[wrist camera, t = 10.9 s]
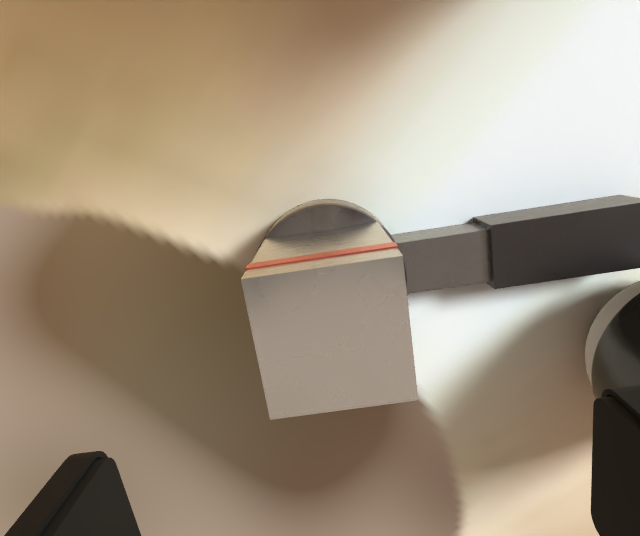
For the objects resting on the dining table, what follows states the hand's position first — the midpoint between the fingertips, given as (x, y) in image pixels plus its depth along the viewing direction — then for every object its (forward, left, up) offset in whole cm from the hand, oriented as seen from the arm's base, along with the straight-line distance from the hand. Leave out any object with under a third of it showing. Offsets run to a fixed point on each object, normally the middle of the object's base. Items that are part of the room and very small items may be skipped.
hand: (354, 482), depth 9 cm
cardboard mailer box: (0, 0, -14) cm, 14 cm away
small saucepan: (-6, 0, -17) cm, 18 cm away
